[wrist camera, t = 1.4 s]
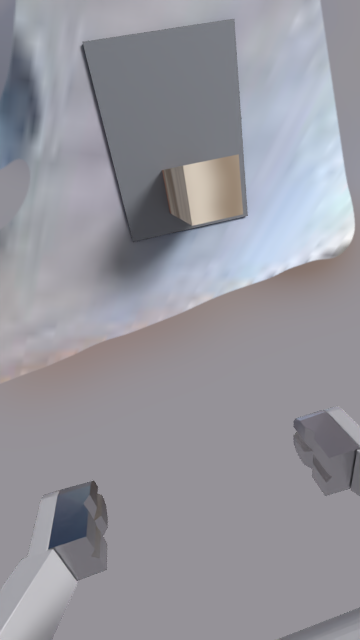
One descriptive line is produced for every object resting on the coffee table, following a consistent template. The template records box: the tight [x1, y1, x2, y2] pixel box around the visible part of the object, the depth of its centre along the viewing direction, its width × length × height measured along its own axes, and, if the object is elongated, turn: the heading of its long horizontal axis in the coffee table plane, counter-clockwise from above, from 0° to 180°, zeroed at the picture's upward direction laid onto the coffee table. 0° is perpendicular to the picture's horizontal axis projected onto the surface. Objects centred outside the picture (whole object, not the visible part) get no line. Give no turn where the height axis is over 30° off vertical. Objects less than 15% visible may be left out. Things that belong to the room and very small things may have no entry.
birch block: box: [162, 154, 243, 226], centre depth 31 cm, size 5×5×12 cm
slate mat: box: [83, 19, 248, 242], centre depth 34 cm, size 16×20×1 cm
